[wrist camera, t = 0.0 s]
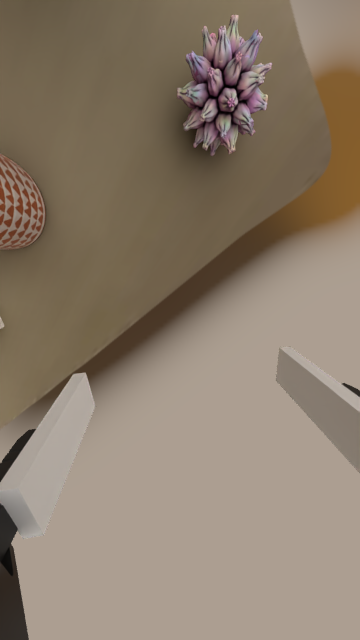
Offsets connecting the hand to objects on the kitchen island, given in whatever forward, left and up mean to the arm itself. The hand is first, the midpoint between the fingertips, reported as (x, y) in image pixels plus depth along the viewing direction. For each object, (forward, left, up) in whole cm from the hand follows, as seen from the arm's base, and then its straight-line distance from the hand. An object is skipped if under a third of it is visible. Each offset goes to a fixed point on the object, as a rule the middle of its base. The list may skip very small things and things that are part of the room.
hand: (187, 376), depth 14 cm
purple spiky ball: (-26, +10, -28) cm, 40 cm away
